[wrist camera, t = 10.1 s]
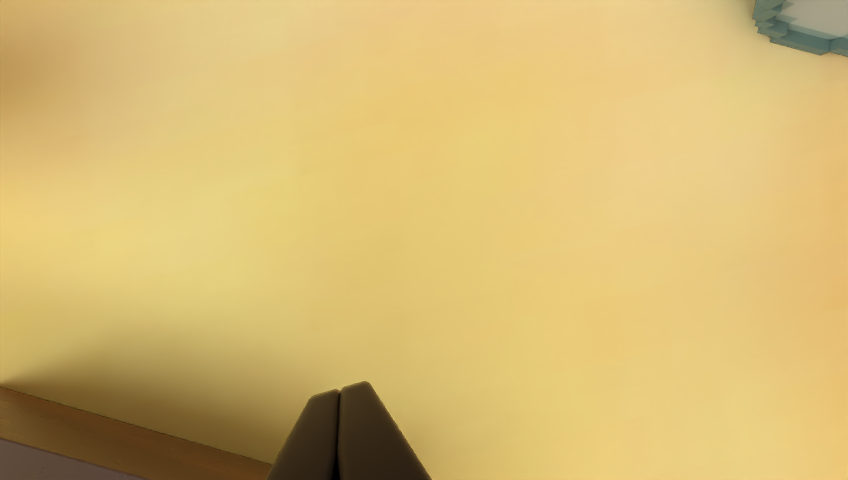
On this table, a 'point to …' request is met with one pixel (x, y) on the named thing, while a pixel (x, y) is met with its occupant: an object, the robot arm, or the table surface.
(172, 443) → the backboard
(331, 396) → the robot arm
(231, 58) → the table surface
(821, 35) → the can
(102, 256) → the table surface
